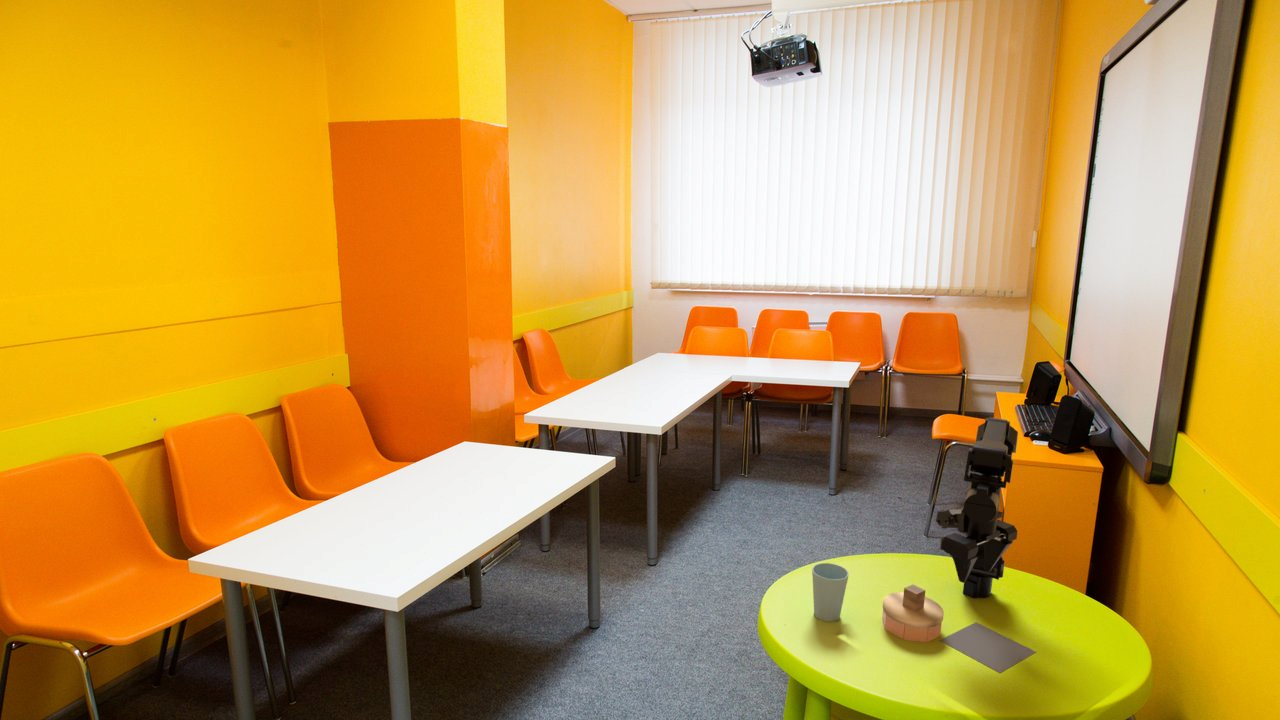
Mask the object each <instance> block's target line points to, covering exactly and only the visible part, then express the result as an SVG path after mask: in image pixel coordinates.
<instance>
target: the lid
mask: <svg viewBox="0 0 1280 720" xmlns="http://www.w3.org/2000/svg"><path fill="white" fill-rule="evenodd" d="M883 610H884V612H885V613H886V614H887V615H888V616H889V617H890V618H892V619H893V620H895V621H897V622H899V623H902V624H905V625H908V626H913V627H921V628H927V627H934V626H937V625H939V624H940V623H943V621H944V615H945V614H944V613H945V612H944V608H943V607H942V606H941V605H940V604H939V603H938V602H936V601H935V600H933V599H931V598H930V597H927V596H926V589H923V588H922V587H920V586H918V585H916V584H914V583H913V584H911V585H909V586H906V587H904V588H903V591H902V592H901V591H900V592H892V593H890V594H887V595H886V596H884V598H883V600H882V611H883Z"/></svg>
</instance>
